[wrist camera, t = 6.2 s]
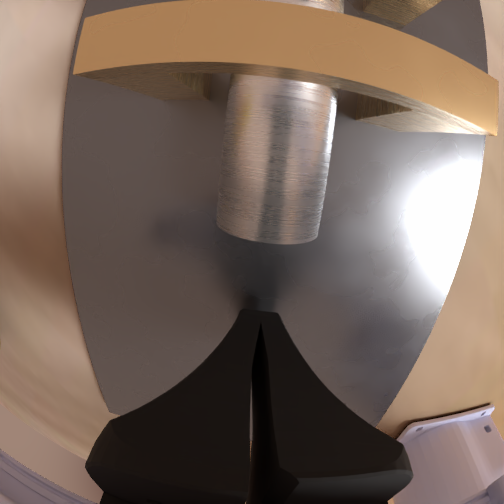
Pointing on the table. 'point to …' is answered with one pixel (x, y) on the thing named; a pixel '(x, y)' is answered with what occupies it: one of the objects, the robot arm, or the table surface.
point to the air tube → (276, 154)
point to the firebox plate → (208, 178)
